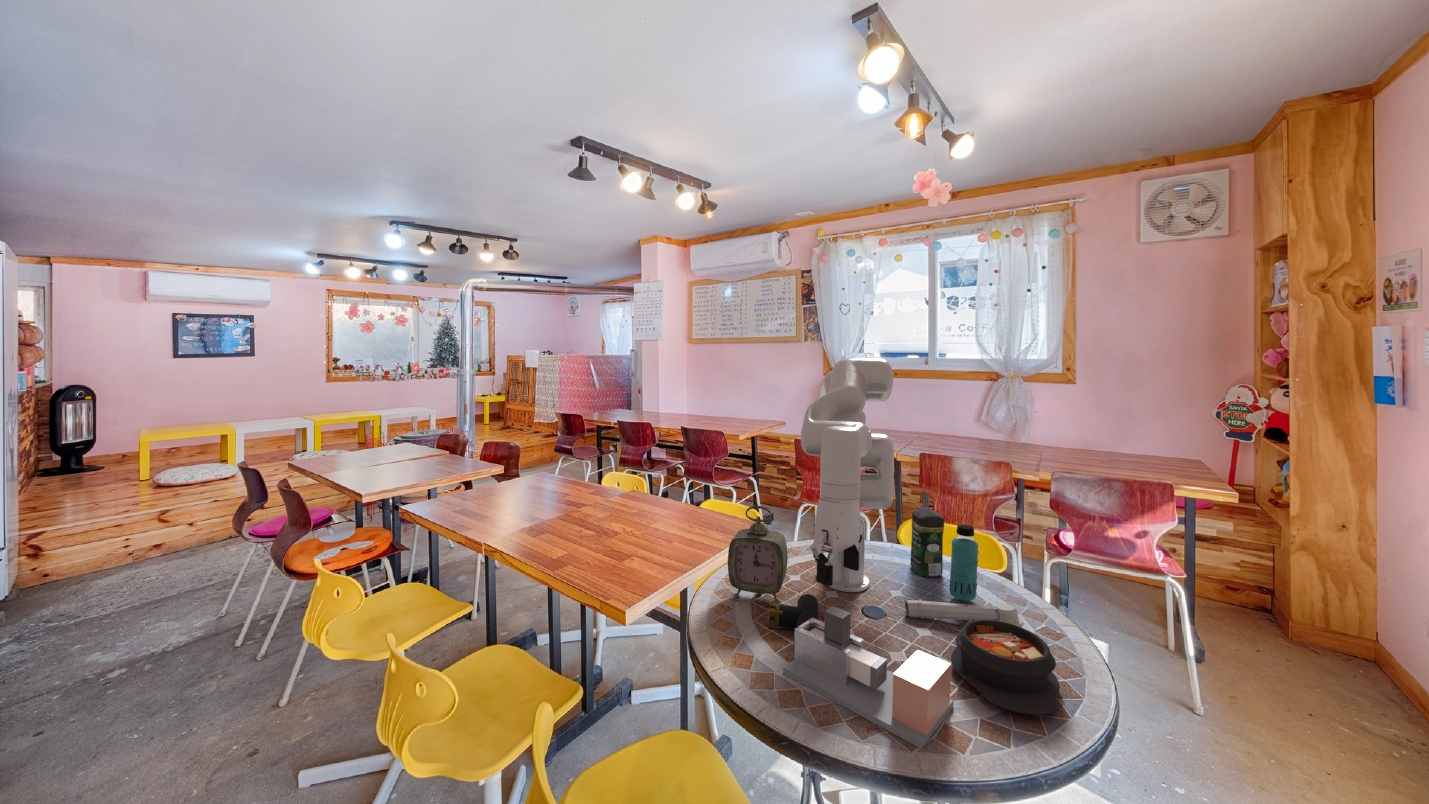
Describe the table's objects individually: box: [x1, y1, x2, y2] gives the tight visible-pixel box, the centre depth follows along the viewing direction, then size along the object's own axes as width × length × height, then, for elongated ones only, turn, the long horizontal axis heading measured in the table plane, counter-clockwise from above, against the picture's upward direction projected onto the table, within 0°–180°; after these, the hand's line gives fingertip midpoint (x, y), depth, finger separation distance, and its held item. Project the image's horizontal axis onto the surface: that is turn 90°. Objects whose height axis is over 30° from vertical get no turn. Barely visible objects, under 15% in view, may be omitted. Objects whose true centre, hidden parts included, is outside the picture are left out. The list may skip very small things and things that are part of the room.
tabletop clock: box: [727, 505, 789, 604], centre depth 132 cm, size 14×9×25 cm, turn 73°
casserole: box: [950, 620, 1061, 716], centre depth 99 cm, size 25×19×8 cm
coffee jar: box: [909, 507, 945, 578], centre depth 148 cm, size 10×8×19 cm
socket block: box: [892, 649, 952, 736], centre depth 88 cm, size 6×10×8 cm, turn 135°
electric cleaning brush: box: [904, 598, 1025, 628], centre depth 120 cm, size 5×7×25 cm
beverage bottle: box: [949, 523, 979, 602], centre depth 130 cm, size 6×7×20 cm
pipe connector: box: [767, 593, 819, 630], centre depth 119 cm, size 12×5×15 cm
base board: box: [782, 659, 954, 750], centre depth 97 cm, size 28×14×1 cm, turn 45°
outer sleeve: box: [793, 618, 864, 686], centre depth 102 cm, size 12×6×7 cm, turn 45°
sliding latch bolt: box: [809, 605, 888, 690], centre depth 99 cm, size 16×4×11 cm, turn 45°
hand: (838, 576), depth 99 cm, fingers open, 9 cm apart
